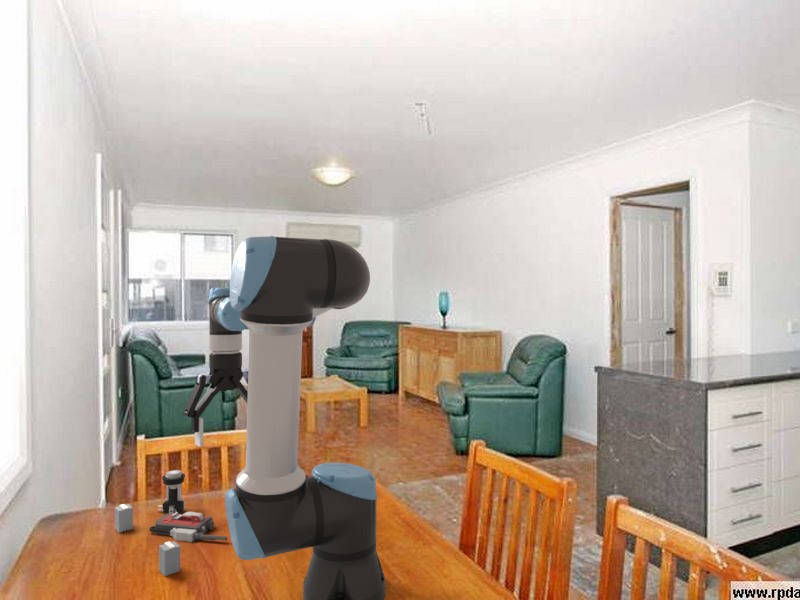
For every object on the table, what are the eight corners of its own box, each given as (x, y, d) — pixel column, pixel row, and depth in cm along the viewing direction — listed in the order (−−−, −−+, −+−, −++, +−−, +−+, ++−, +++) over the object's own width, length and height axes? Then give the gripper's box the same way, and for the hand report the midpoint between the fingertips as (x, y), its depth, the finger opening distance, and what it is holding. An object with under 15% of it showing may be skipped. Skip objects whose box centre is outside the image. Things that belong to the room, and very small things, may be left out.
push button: (153, 515, 138) (153, 475, 138) (162, 507, 143) (162, 468, 143) (180, 516, 138) (179, 475, 138) (188, 507, 143) (188, 468, 143)
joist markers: (180, 570, 111) (180, 544, 111) (165, 576, 109) (164, 549, 109) (128, 524, 133) (128, 502, 133) (114, 528, 131) (114, 506, 130)
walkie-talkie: (142, 539, 126) (224, 547, 122) (142, 520, 126) (224, 527, 122) (166, 523, 135) (243, 530, 131) (166, 505, 135) (243, 511, 131)
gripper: (262, 346, 146) (262, 428, 146) (167, 354, 128) (167, 447, 128) (279, 349, 140) (279, 433, 141) (181, 357, 122) (182, 454, 123)
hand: (226, 440), depth 134 cm, fingers open, 13 cm apart
